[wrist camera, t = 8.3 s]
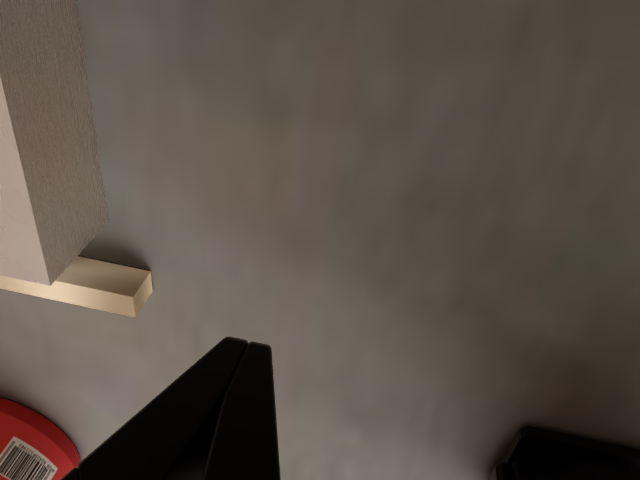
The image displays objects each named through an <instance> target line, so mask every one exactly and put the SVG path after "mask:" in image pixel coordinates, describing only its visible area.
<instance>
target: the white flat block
mask: <svg viewBox="0 0 640 480" xmlns="http://www.w3.org/2000/svg"><path fill="white" fill-rule="evenodd" d="M107 223H108V214H107V207H106V201H105V194H104V187H103V180H102V173H101V166H100V159H99V153H98V146H97V139H96V132H95V125H94V118H93V111H92V105H91V98H90V91H89V84H88V77H87V70H86V63H85V57H84V50H83V43H82V36H81V29H80V22H79V15H78V8H77V2H76V0H0V275H1V276H6V277H11V278H15V279H20V280H25V281H30V282H34V283H39V284H44V285H49V286H51V285H52V284H53V282H54V281H55V280H56V279H57V278H58V277H59V276H60V275H61V274H62V272H63V271H64V270H65V269H66V268H67V267H68V266H69V265H70V264H71V262H72V261H73V260H74V259H75V258H76V257H77V256H78V255H79V254H80V253H81V251H82V250H83V249H84V248H85V247H86V246H87V245H88V244H89V243H90V241H91V240H92V239H93V238H94V237H95V236H96V235H97V234H98V233H99V231H100V230H101V229H102V228H103V227H104V226H105V225H106V224H107Z"/></svg>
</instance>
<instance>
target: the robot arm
mask: <svg viewBox="0 0 640 480" xmlns="http://www.w3.org/2000/svg"><path fill="white" fill-rule="evenodd" d="M60 480H280V465H279V451H278V437H277V423H276V408H275V394H274V380H273V365H272V351H271V347H270V346H269V345H267V344H262V343H257V342H250V343H249V344H248V342H247V341H246V340H243V339H239V338H234V337H226V338H224V339H223V340H222V341H220V342H219V343H218V344H217V345H216V346H215V347H213V348H212V349H211V350H210V351H209V352H208V353H206V354H205V355H204V356H203V357H202V358H201V359H200V360H198V361H197V362H196V363H195V364H194V365H193V366H191V367H190V368H189V369H188V370H187V371H186V372H184V373H183V374H182V375H181V376H180V377H179V378H178V379H176V380H175V381H174V382H173V383H172V384H171V385H169V386H168V387H167V388H166V389H165V390H164V391H162V392H161V393H160V394H159V395H158V396H157V397H155V398H154V399H153V400H152V401H151V402H150V403H149V404H147V405H146V406H145V407H144V408H143V409H142V410H140V411H139V412H138V413H137V414H136V415H135V416H133V417H132V418H131V419H130V420H129V421H128V422H126V423H125V424H124V425H123V426H122V427H121V428H120V429H118V430H117V431H116V432H115V433H114V434H113V435H111V436H110V437H109V438H108V439H107V440H106V441H104V442H103V443H102V444H101V445H100V446H99V447H98V448H96V449H95V450H94V451H93V452H92V453H91V454H89V455H88V456H87V457H86V458H85V459H84V460H82V461H81V462H80V463H79V464H78V468H76V467H74V468H73V469H72V470H71V471H69V472H68V473H67V474H66V475H65V476H64V477H62V478H61V479H60ZM488 480H640V450H635V449H631V448H626V447H621V446H617V445H612V444H608V443H603V442H599V441H594V440H590V439H585V438H581V437H576V436H571V435H567V434H562V433H558V432H553V431H549V430H544V429H540V428H535V427H526V428H523V429H520V430H519V431H518V433H517V435H516V436H515V438H514V440H513V442H512V444H511V446H510V448H509V450H508V452H507V454H506V455H505V457H504V459H503V461H502V462H500V463H498V464H497V465H496V466H495V467H494V469H493V471H492V473H491V474H490V476H489V478H488Z"/></svg>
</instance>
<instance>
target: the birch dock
mask: <svg viewBox="0 0 640 480" xmlns="http://www.w3.org/2000/svg"><path fill="white" fill-rule="evenodd" d="M0 288H1V289H6V290H10V291H15V292H20V293H24V294H29V295H33V296H38V297H43V298H47V299H52V300H57V301H61V302H66V303H70V304H75V305H80V306H84V307H89V308H94V309H98V310H103V311H107V312H112V313H117V314H121V315H126V316H131V317H136V316H137V314H138V313H139V311H140V310H141V308H142V307H143V305H144V304H145V302H146V301H147V299H148V298H149V296H150V295H151V293H152V292H153V289H152V278H151V271H147V270H142V269H137V268H132V267H127V266H123V265H118V264H113V263H108V262H103V261H99V260H94V259H89V258H84V257H79V256H77V257H76V258H75V259H74V260H73V261H72V262H71V264H70V265H69V266H68V267H67V268H66V269H65V270H64V271H63V272H62V274H61V275H60V276H59V277H58V278H57V279H56V280H55V281H54V282H53V284H52V285H51V286H49V285H44V284H39V283H34V282H30V281H25V280H20V279H15V278H11V277H6V276H1V275H0Z"/></svg>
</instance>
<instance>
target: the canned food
mask: <svg viewBox="0 0 640 480" xmlns="http://www.w3.org/2000/svg"><path fill="white" fill-rule="evenodd" d="M79 463H80V457H79V454H78V452H77V450H76V448H75V446H74V444H73V443H72V442H71V440H70V439H69V437H68V436H67V435H66V434H65V433H64V432H63V431H62V430H61V429H60V428H58V427H57V426H56V425H55V424H54V423H52V422H51V421H50V420H48V419H47V418H45V417H43V416H42V415H40V414H39V413H37V412H35V411H33V410H31V409H29V408H28V407H25V406H23V405H21V404H18V403H16V402H13V401H10V400H7V399H4V398H0V480H60V479H61V478H62V477H64V476H65V475H66V474H67V473H68V472H69V471H71V470H72V469H73V468H74V467H76V468H78V464H79Z"/></svg>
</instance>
